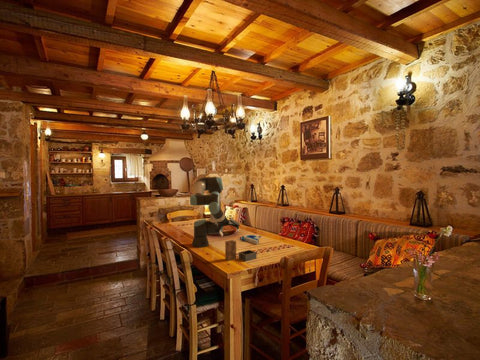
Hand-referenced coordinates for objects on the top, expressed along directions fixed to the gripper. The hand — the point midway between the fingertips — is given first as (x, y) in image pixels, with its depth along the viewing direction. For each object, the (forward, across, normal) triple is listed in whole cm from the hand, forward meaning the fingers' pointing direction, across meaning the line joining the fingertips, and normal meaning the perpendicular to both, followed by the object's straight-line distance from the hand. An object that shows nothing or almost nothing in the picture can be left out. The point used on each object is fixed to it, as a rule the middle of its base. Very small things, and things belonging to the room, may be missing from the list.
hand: (230, 233), depth 208 cm
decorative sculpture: (+53, +6, +23) cm, 58 cm away
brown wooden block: (+9, -4, -17) cm, 20 cm away
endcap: (+14, +8, -17) cm, 24 cm away
